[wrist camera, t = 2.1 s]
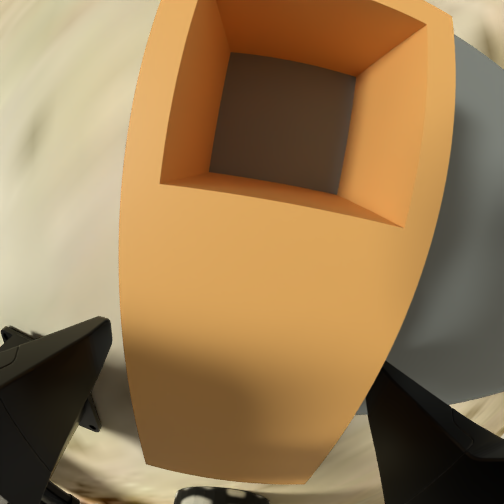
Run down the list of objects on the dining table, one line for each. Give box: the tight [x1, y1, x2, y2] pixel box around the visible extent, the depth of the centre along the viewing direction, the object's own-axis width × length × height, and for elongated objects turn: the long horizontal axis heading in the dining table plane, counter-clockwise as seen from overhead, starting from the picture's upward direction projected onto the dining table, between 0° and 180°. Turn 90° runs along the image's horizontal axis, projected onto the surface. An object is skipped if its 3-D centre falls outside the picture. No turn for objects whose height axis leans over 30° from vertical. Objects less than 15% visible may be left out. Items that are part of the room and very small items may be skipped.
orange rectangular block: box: [119, 0, 456, 484], centre depth 6 cm, size 12×5×4 cm, turn 171°
